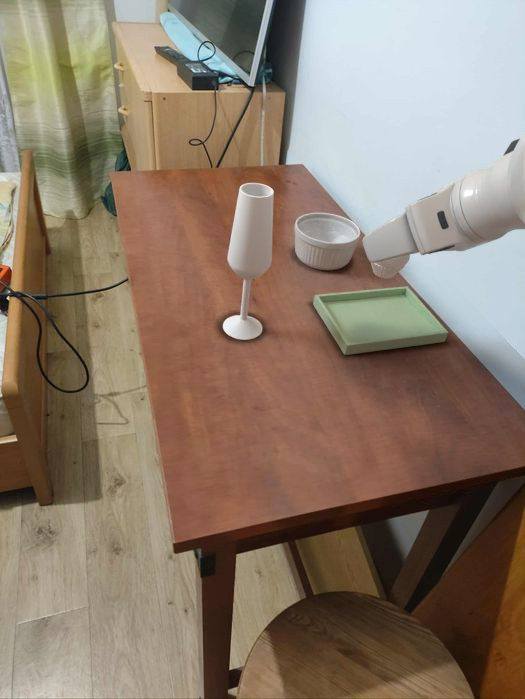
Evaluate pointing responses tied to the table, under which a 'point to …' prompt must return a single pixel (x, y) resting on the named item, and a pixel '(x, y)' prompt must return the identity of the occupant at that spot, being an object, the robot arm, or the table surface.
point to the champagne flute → (250, 251)
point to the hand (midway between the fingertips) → (388, 246)
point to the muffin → (390, 267)
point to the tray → (378, 320)
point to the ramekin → (325, 240)
